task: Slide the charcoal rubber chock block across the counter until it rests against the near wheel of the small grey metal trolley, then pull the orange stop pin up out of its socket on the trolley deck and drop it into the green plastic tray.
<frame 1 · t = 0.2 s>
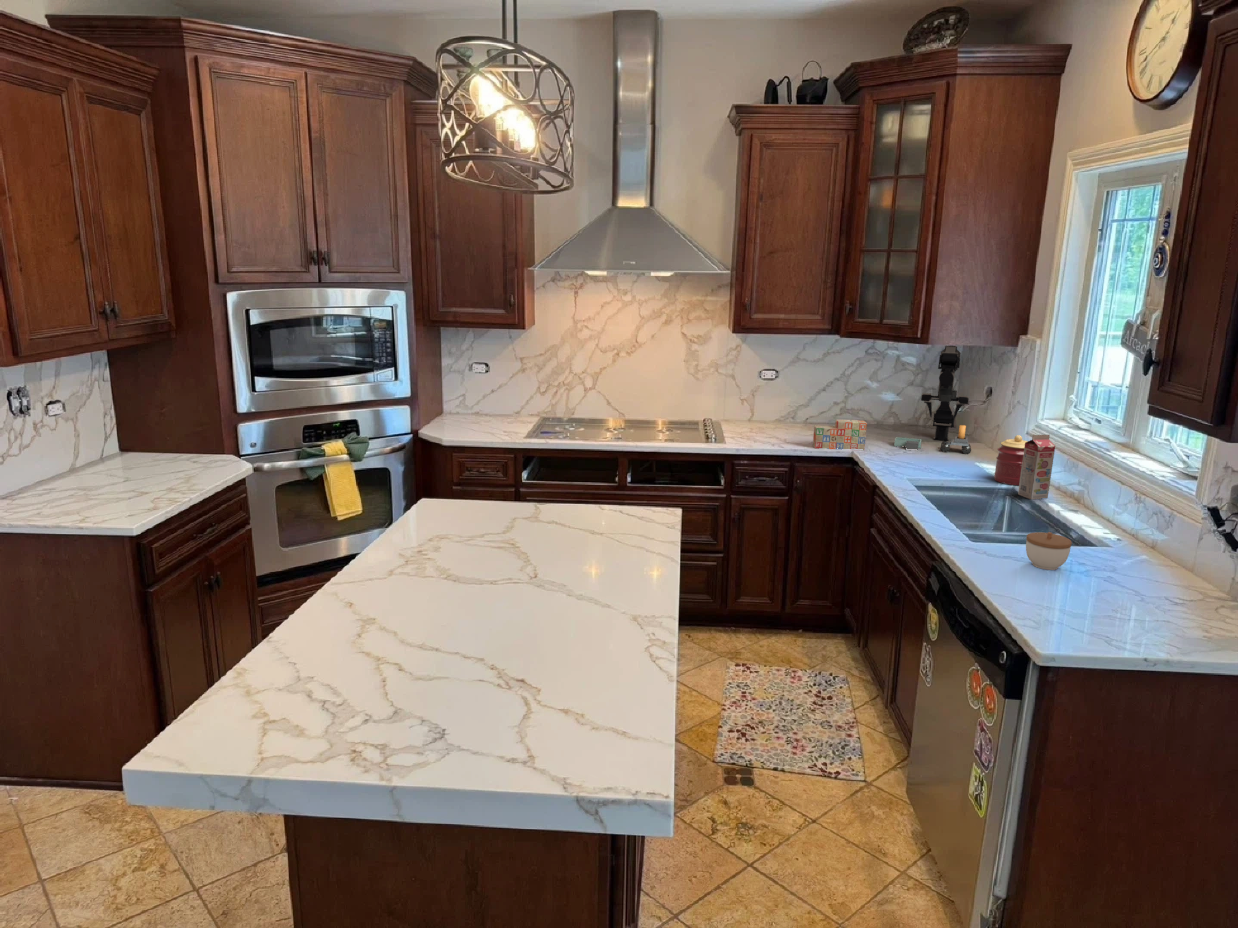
hand: (942, 418, 354), 15 cm above the table, tool pointing down, fingers open, 9 cm apart
canister: (1012, 482, 308), on the table
trolley: (954, 451, 357), on the table
stack of blocks: (838, 448, 361), on the table
lidded jar: (1044, 566, 221), on the table
juice carton: (1032, 496, 289), on the table
chock: (911, 449, 360), on the table
stop pin: (960, 441, 356), point 5 cm above the table, touching trolley
tray: (907, 446, 366), on the table
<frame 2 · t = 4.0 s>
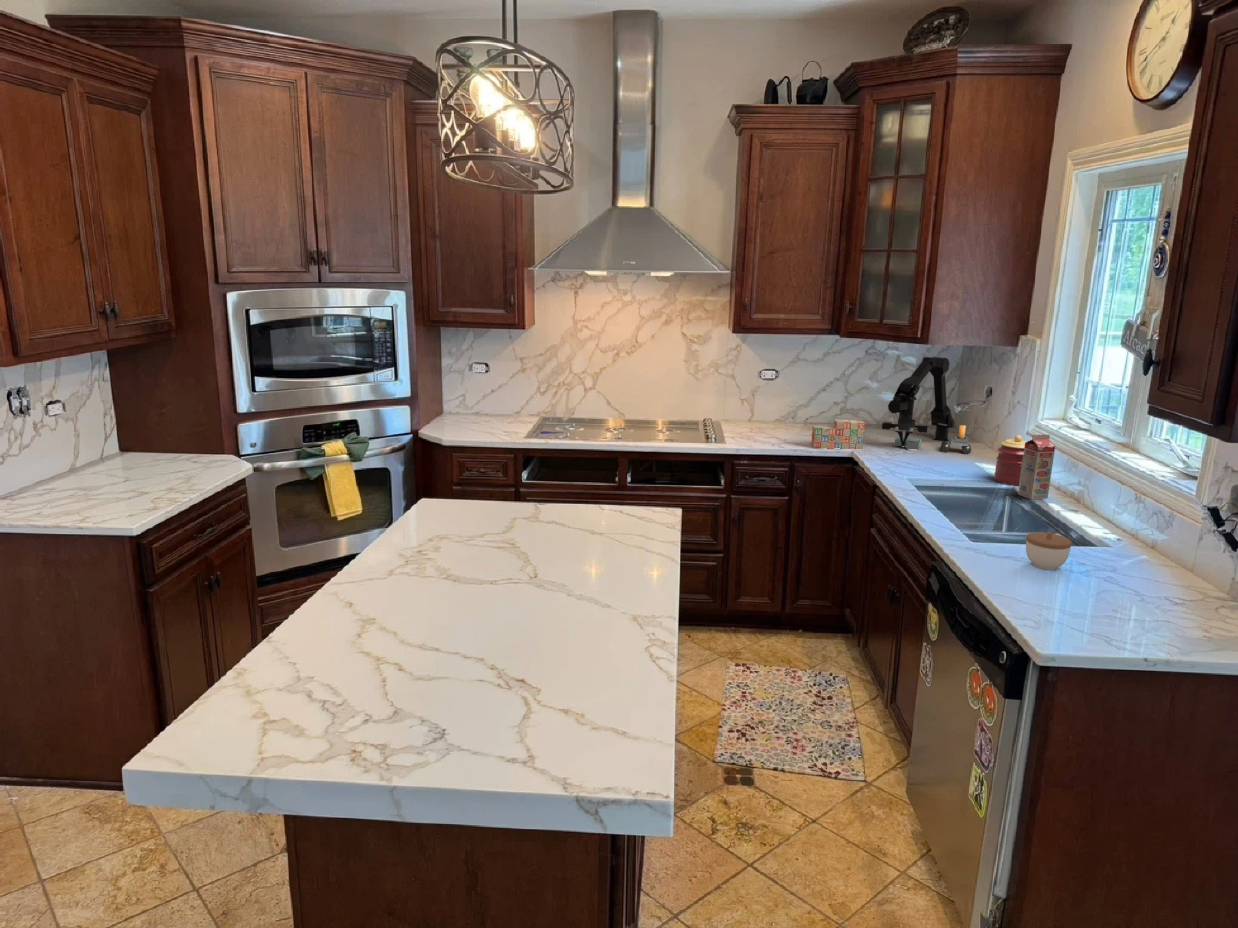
hand: (902, 446, 361), 1 cm above the table, tool pointing down, fingers closed
chock: (911, 449, 360), on the table, touching gripper
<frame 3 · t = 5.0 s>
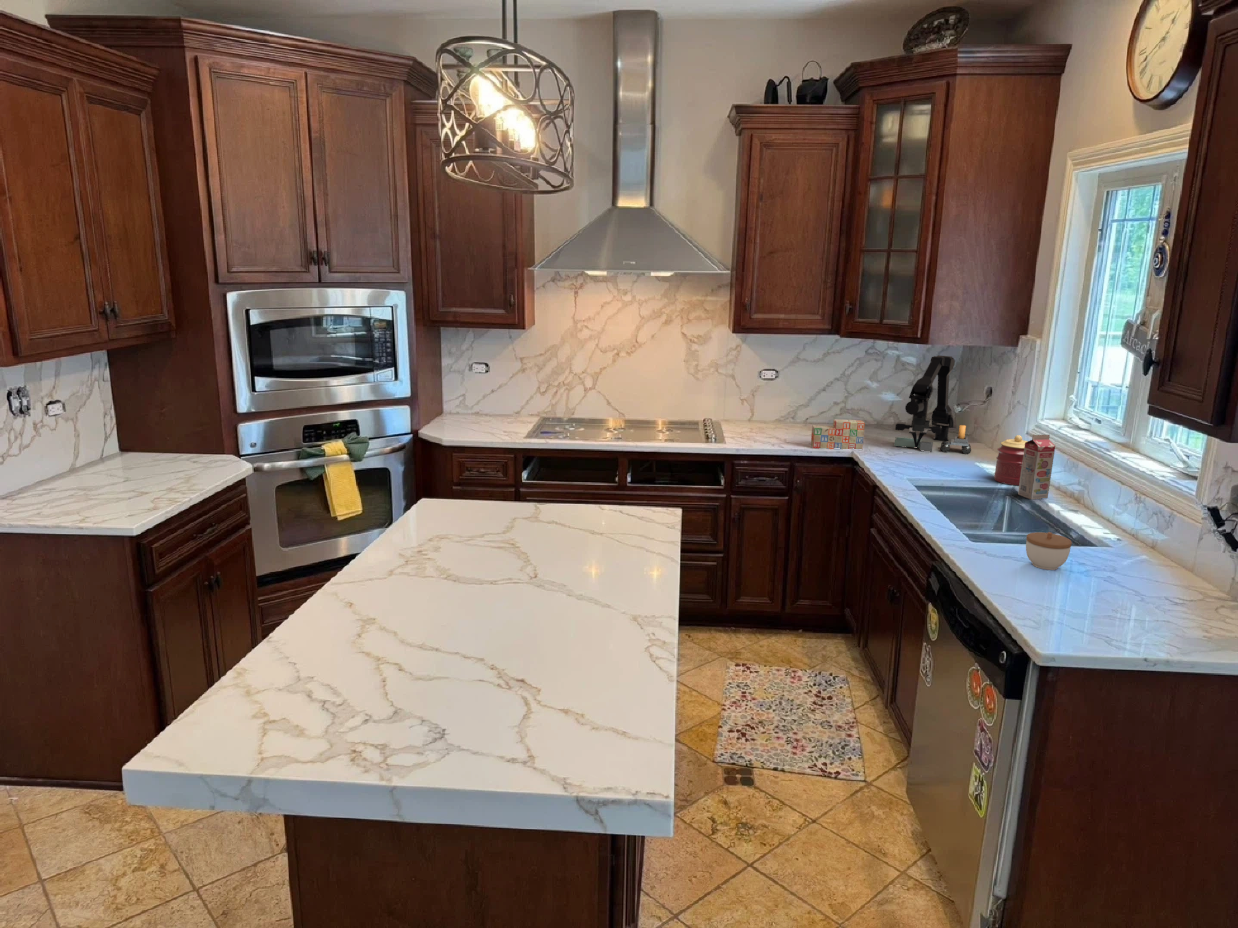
hand: (916, 447, 359), 1 cm above the table, tool pointing down, fingers closed
chock: (925, 450, 358), on the table, touching gripper
everything else where it was.
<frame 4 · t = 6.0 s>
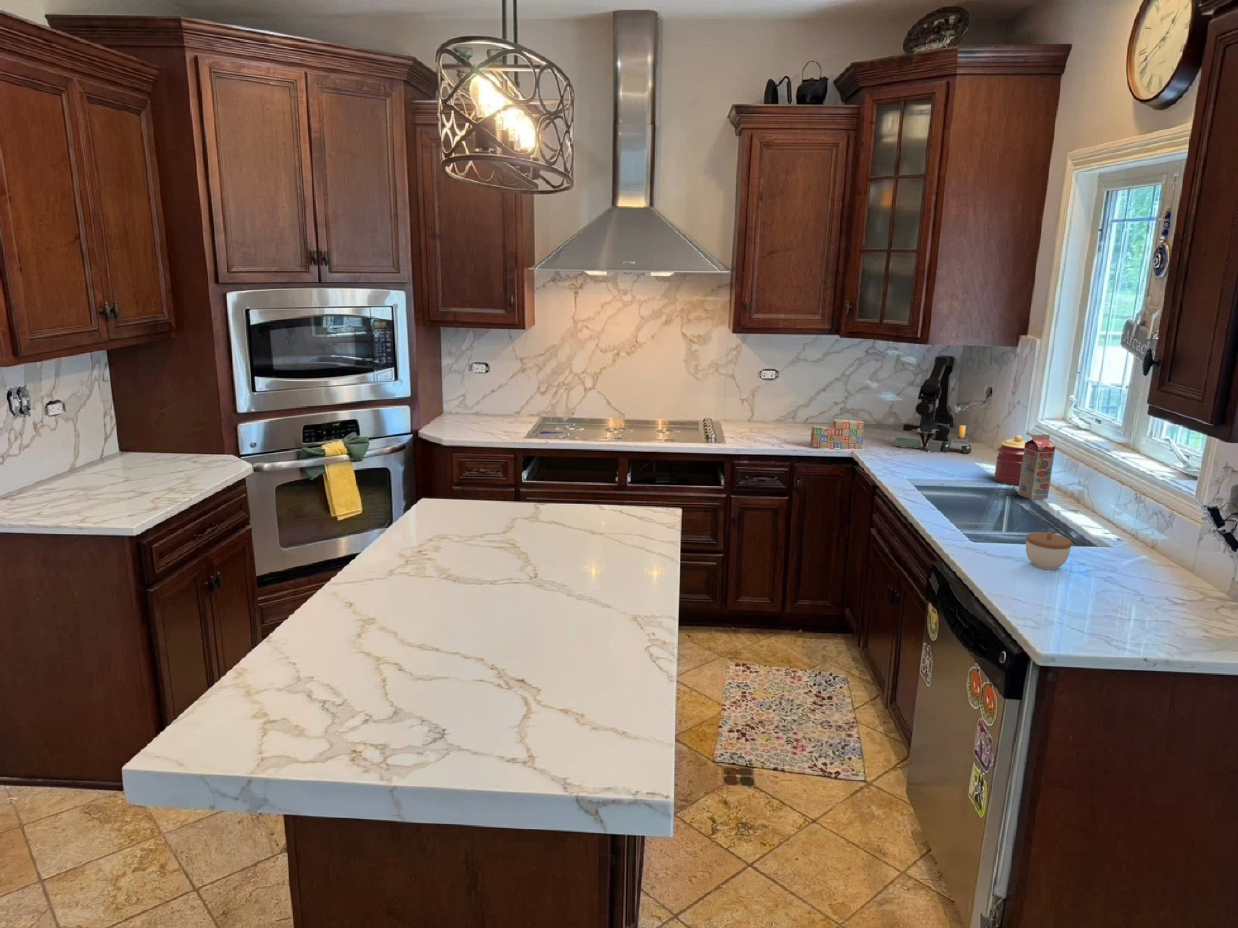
hand: (924, 447, 358), 1 cm above the table, tool pointing down, fingers closed
chock: (933, 451, 357), on the table, touching gripper
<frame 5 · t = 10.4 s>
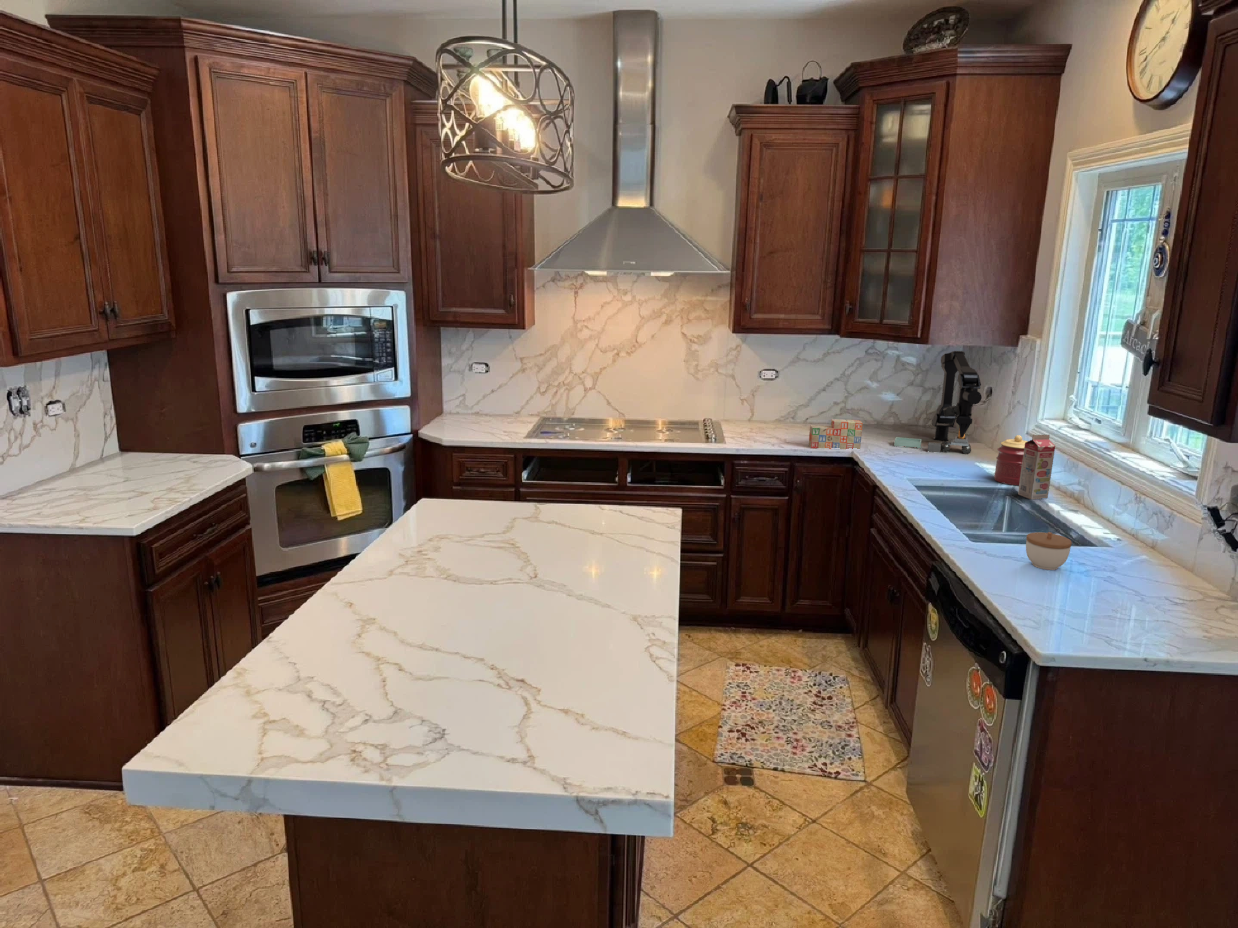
hand: (961, 436, 355), 7 cm above the table, tool pointing down, fingers closed on stop pin, 3 cm apart
chock: (933, 451, 357), on the table
stop pin: (960, 441, 356), point 5 cm above the table, touching gripper, trolley
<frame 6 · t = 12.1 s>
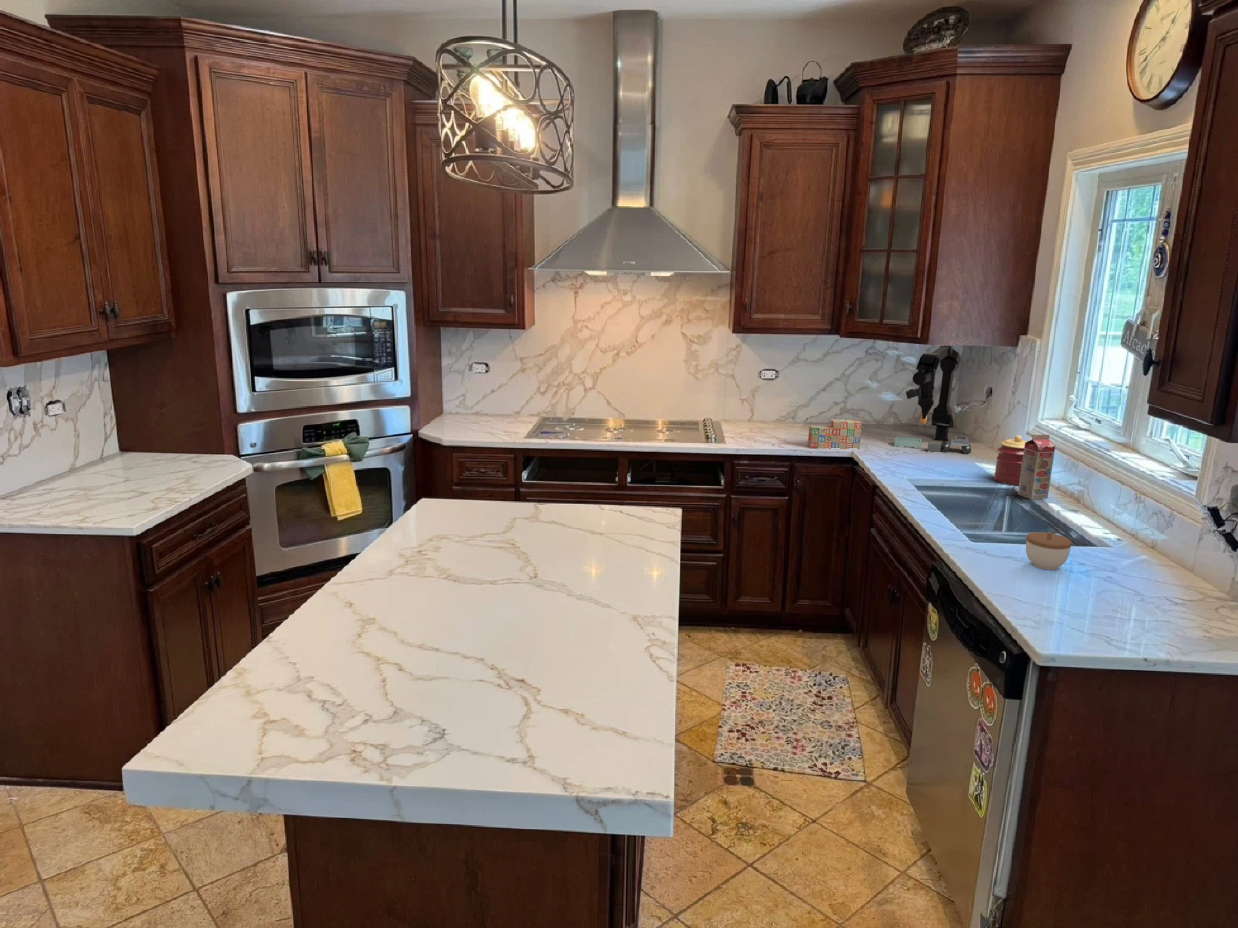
hand: (923, 418, 361), 13 cm above the table, tool pointing down, fingers closed on stop pin, 3 cm apart
stop pin: (923, 423, 361), point 11 cm above the table, touching gripper
when the fingers open (5 cm above the table, at t = 14.3 s): stop pin drops 2 cm, resting on tray.
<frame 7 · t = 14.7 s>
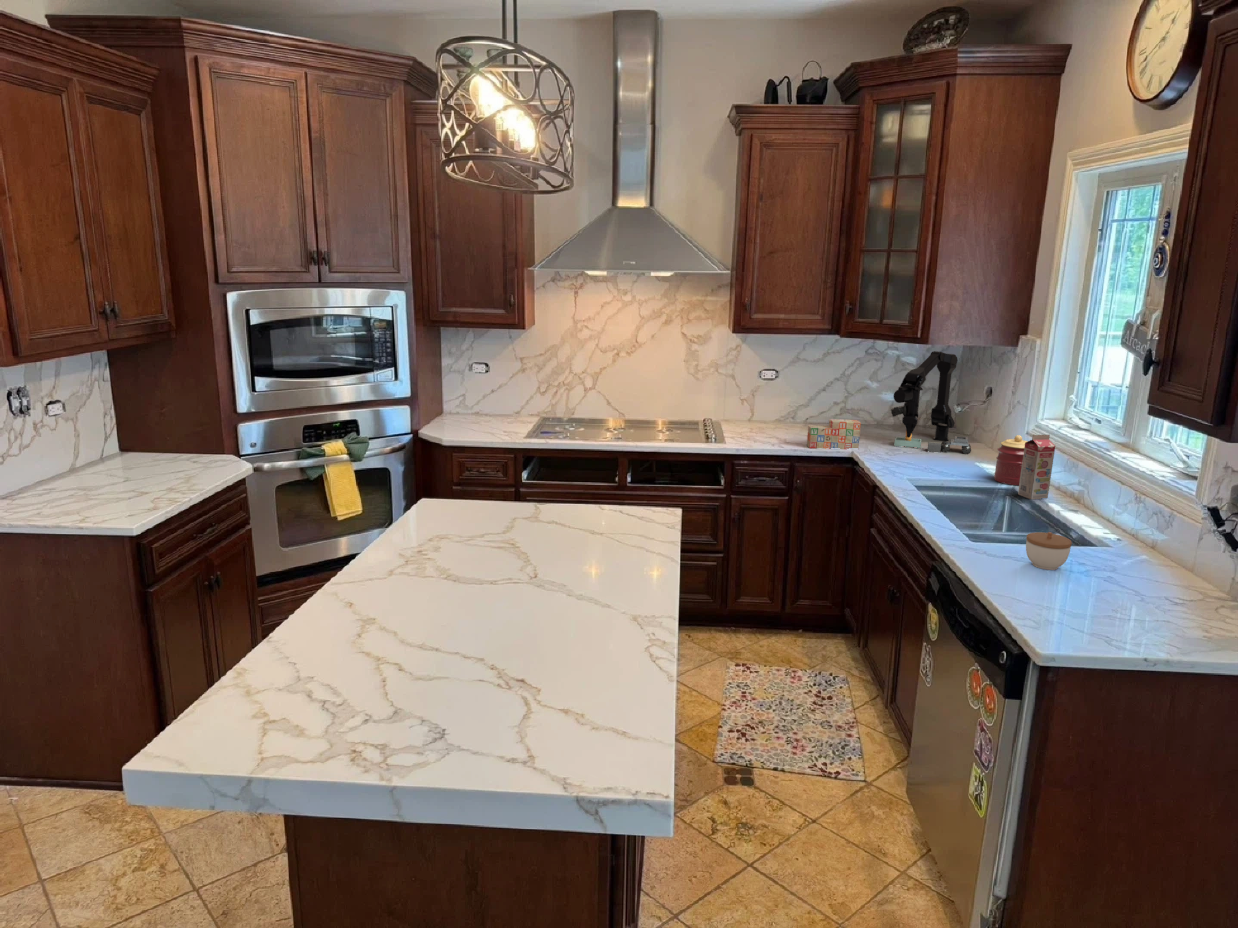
hand: (908, 435, 365), 5 cm above the table, tool pointing down, fingers open, 7 cm apart
stop pin: (907, 444, 366), point 1 cm above the table, touching tray
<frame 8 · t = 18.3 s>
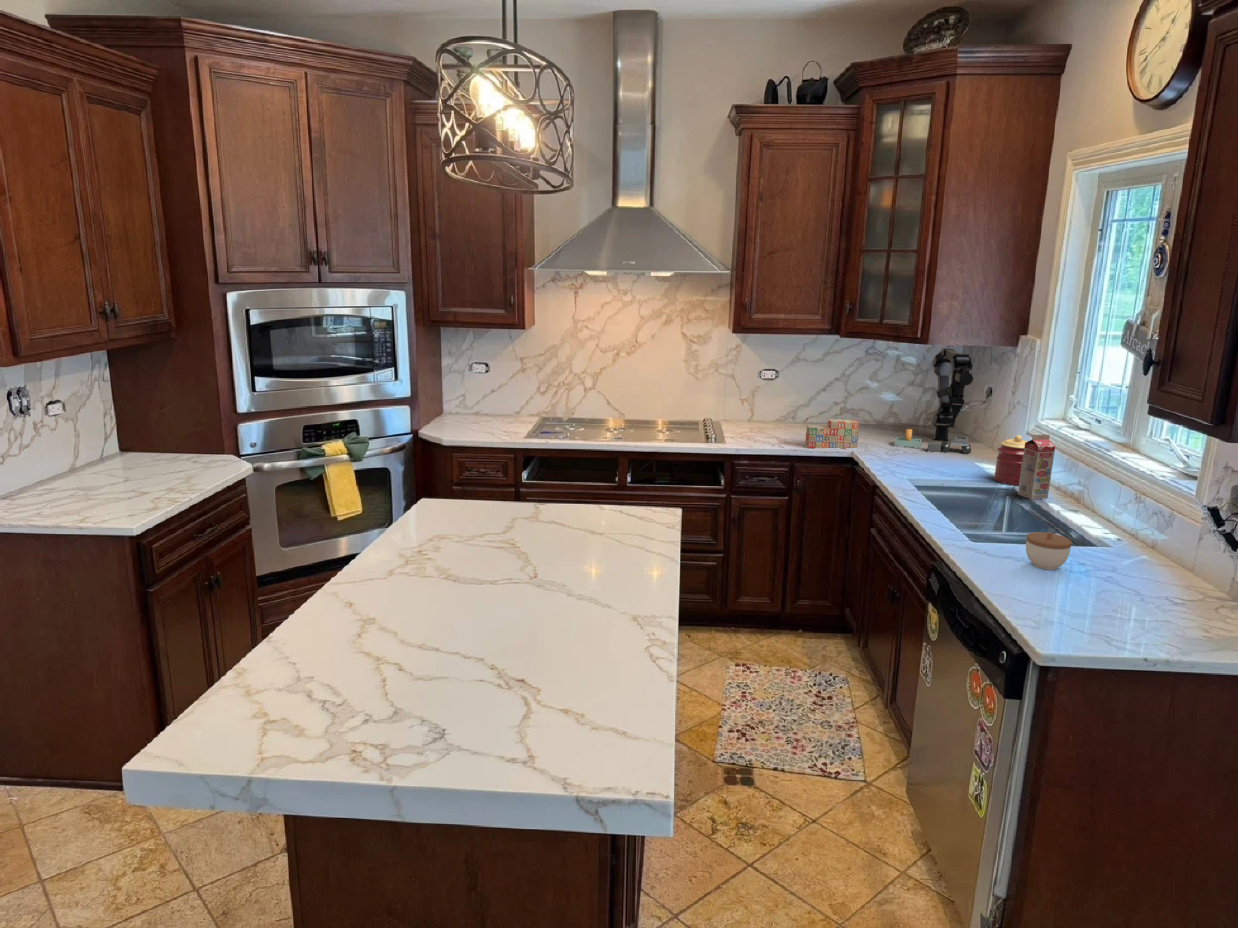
hand: (954, 417, 365), 13 cm above the table, tool pointing down, fingers open, 9 cm apart
at the end: chock 1.2 cm from the target spot, on the table; stop pin inside the target area on the tray (0.1 cm from its centre), point 0.5 cm above the tray's base; stop pin touching tray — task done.
